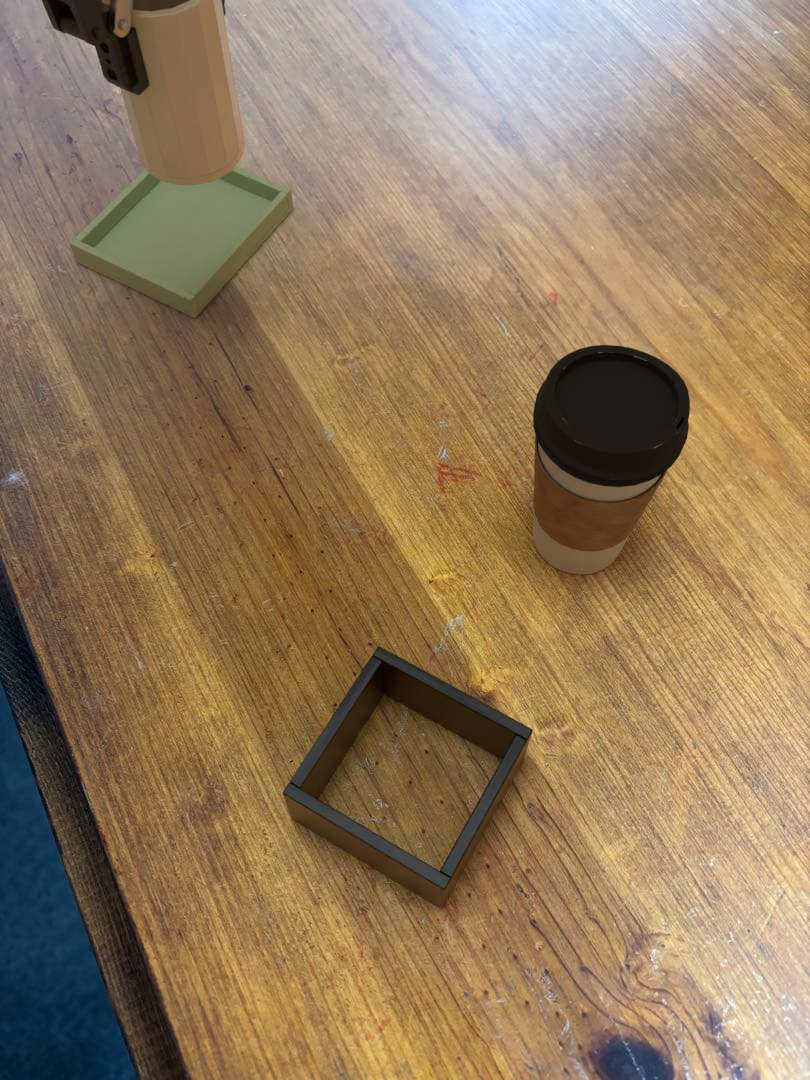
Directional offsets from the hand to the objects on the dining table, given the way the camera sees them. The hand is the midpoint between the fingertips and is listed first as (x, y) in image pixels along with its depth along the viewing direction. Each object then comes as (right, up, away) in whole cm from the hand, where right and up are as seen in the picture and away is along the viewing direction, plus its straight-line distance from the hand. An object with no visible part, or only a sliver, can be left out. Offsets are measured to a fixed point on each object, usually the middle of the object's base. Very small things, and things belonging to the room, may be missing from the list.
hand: (169, 50), depth 59 cm
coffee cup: (+24, -27, +10) cm, 38 cm away
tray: (-4, -4, +24) cm, 24 cm away
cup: (0, -3, +6) cm, 7 cm away
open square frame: (+13, -41, +2) cm, 44 cm away
